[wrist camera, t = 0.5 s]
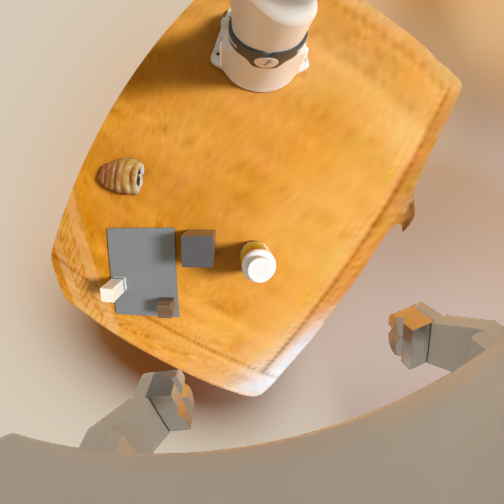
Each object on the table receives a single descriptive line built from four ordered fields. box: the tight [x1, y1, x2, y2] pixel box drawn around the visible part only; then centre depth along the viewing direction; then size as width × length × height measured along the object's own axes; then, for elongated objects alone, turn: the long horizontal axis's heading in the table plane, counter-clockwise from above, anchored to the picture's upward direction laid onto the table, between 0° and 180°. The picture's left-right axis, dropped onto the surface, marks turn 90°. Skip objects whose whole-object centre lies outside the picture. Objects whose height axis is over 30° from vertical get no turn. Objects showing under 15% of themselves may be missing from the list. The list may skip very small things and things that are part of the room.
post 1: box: [100, 276, 127, 302], centre depth 48 cm, size 3×3×7 cm
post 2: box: [157, 297, 175, 318], centre depth 51 cm, size 3×3×4 cm
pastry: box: [98, 158, 144, 195], centre depth 45 cm, size 9×7×4 cm
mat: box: [107, 228, 179, 317], centre depth 51 cm, size 18×14×1 cm
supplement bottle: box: [240, 241, 276, 283], centre depth 47 cm, size 6×6×10 cm
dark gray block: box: [181, 230, 215, 267], centre depth 48 cm, size 5×5×7 cm
